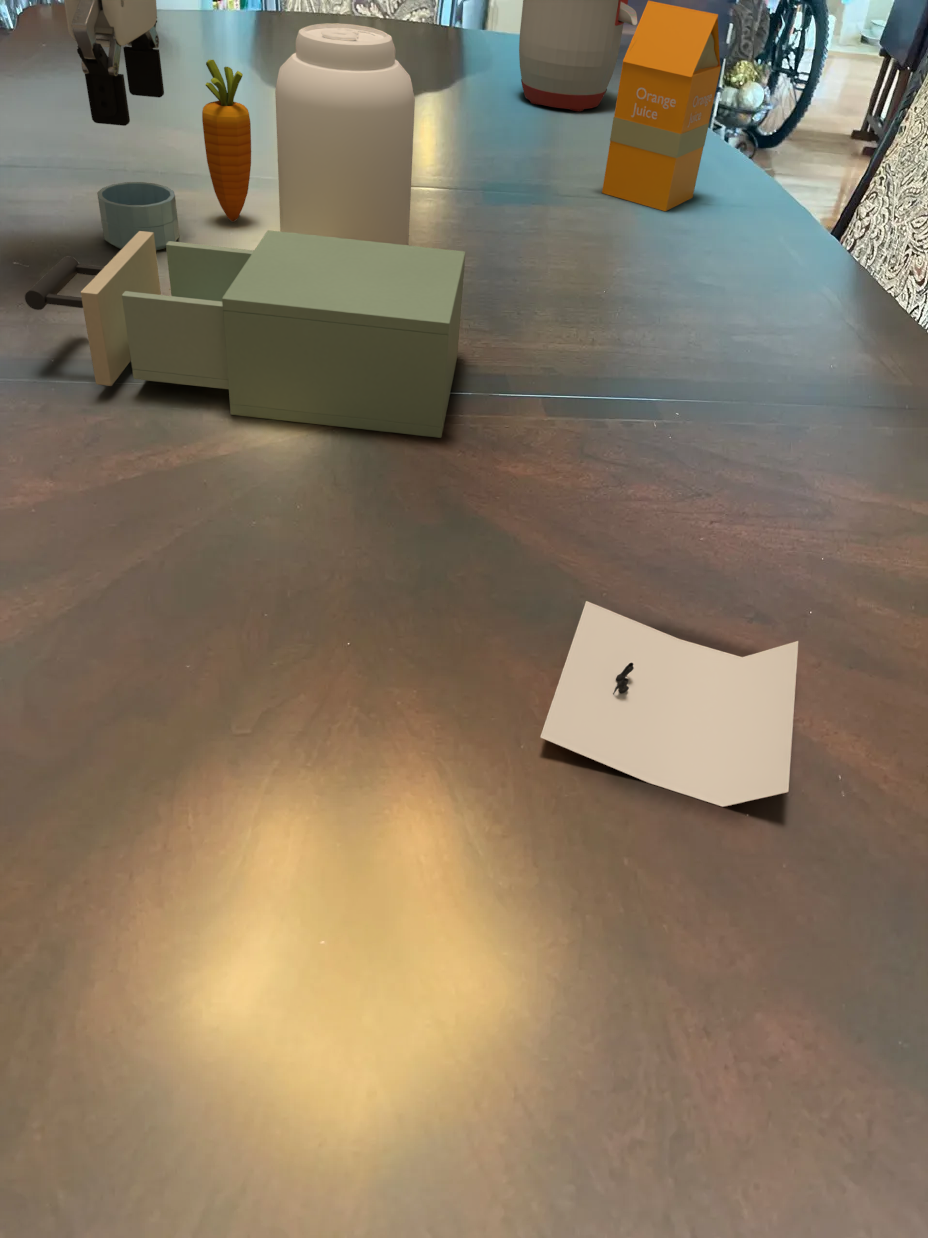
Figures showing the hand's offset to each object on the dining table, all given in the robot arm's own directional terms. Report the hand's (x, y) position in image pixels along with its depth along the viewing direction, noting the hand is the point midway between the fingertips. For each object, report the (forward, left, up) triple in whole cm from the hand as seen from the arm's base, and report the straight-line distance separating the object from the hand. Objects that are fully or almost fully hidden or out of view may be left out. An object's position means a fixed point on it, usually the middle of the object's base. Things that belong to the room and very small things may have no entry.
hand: (130, 108), depth 93 cm
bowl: (0, 0, -12) cm, 12 cm away
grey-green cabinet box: (+25, -25, -12) cm, 37 cm away
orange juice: (+52, +32, -12) cm, 62 cm away
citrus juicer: (+42, +74, -12) cm, 86 cm away
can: (+20, +1, -12) cm, 23 cm away
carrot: (+7, +8, -12) cm, 16 cm away
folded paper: (+48, -58, -12) cm, 76 cm away
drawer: (+11, -25, -11) cm, 30 cm away
